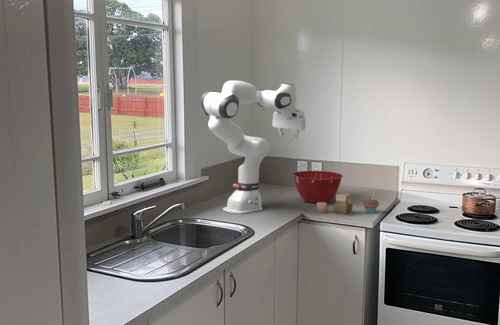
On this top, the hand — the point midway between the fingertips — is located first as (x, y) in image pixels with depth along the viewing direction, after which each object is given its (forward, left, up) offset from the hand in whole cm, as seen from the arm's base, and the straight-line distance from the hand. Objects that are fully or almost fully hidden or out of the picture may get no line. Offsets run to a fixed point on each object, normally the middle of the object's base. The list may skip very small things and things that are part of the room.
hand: (288, 136), depth 292 cm
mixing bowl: (+11, -13, -38) cm, 41 cm away
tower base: (-5, -39, -38) cm, 54 cm away
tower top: (-5, -39, -33) cm, 51 cm away
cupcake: (+6, -49, -38) cm, 62 cm away
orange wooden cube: (-10, -29, -37) cm, 48 cm away
